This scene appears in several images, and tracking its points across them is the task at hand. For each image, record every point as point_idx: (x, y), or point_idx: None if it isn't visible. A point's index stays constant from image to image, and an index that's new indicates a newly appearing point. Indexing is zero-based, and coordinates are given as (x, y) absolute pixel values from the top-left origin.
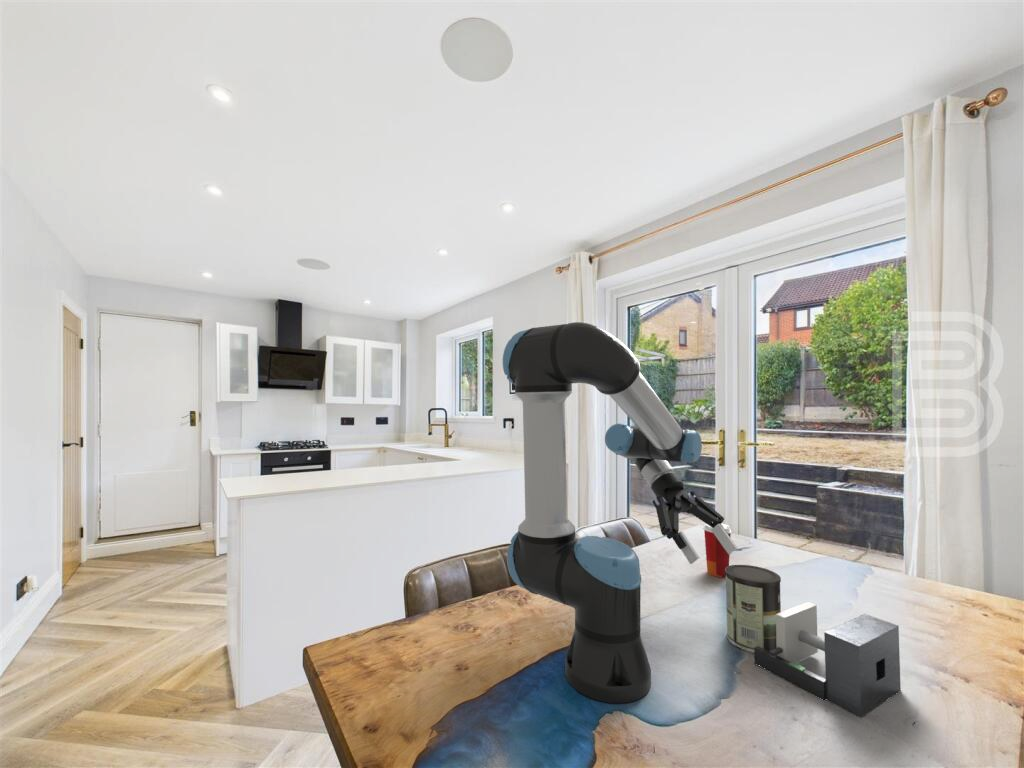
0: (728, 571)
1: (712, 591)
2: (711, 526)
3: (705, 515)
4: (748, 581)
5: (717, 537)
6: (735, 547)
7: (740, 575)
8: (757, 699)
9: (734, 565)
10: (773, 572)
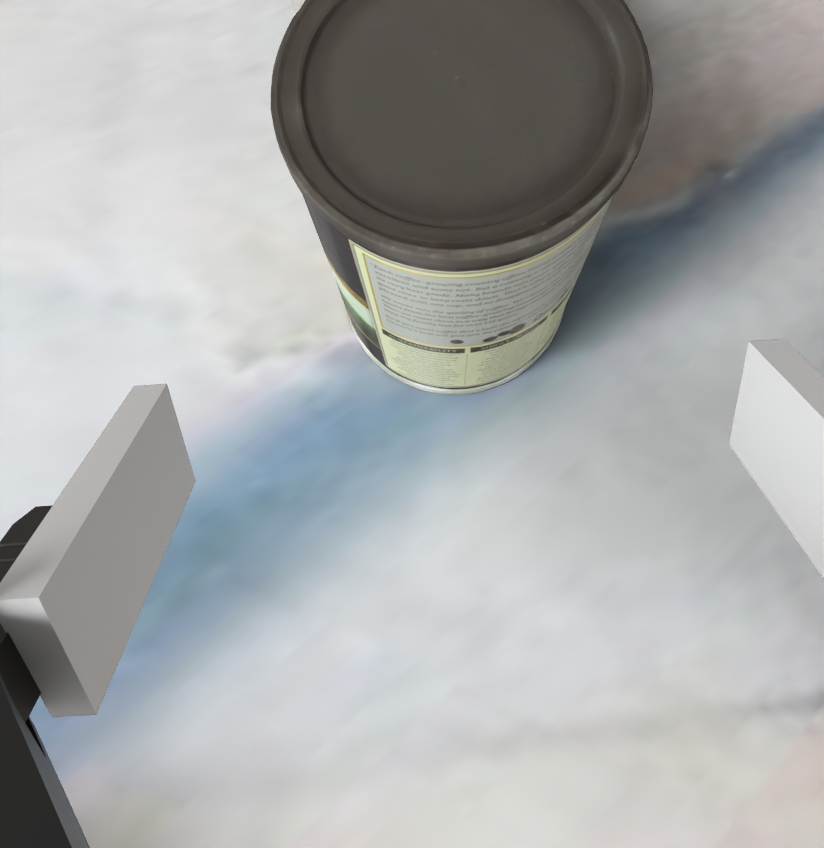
0: (604, 169)
1: (126, 786)
2: (42, 743)
3: (63, 813)
4: (621, 2)
5: (137, 604)
6: (159, 388)
7: (577, 92)
8: (786, 48)
9: (433, 243)
10: (297, 33)
